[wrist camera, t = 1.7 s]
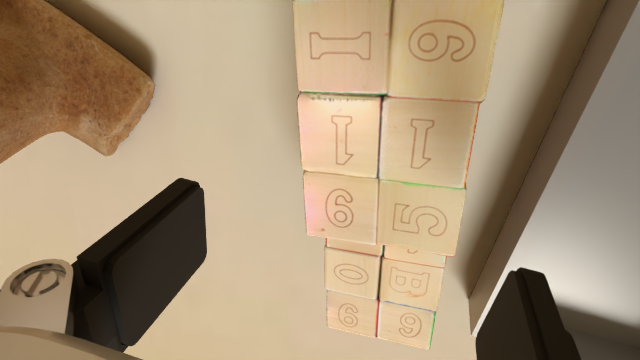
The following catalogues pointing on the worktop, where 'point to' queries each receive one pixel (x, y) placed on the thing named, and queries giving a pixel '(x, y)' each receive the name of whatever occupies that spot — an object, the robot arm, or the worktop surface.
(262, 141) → the worktop surface
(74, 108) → the brown suede boot
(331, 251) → the stack of blocks
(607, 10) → the tray
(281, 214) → the worktop surface
